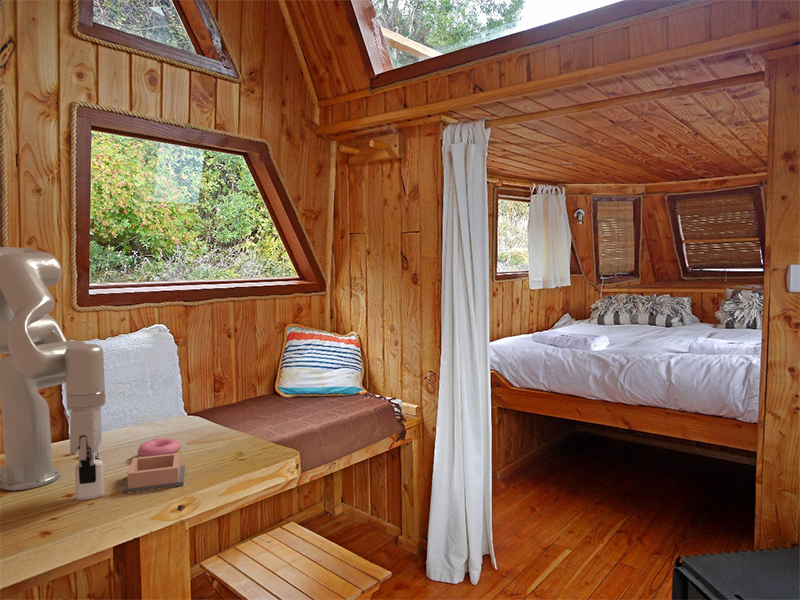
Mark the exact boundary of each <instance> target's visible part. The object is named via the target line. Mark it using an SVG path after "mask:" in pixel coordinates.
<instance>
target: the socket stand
mask: <svg viewBox="0 0 800 600" xmlns="http://www.w3.org/2000/svg"><path fill="white" fill-rule="evenodd" d="M180 454H181V453H180V452H179V453H174V454H165V455H156V456H148V457H139V456H138V457H133V458H132V459H131V463H130V466H129V468H128V472H127V476H126V479H125V482H124V485H123V487H122V494H123V493H125V494H129V493H128V492H133V493H138V492H137V491H140V492H144V491H143V490H148V491H151V490H150V489H155V490H159V489H158V488H163V489H167V488H166V487H170V488H175V487H174V486H178V487H184V486H183V485H185V474H186V473H185V471H186V465H181V455H180ZM184 473H185V474H184Z"/></svg>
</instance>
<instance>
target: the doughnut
mask: <svg viewBox="0 0 800 600" xmlns="http://www.w3.org/2000/svg"><path fill="white" fill-rule="evenodd" d="M181 448H182V445H181V443H180V442H179V441H178V440H177V439H174V438H167V437H164V438H162V437H161V438H156V439H152V440H148V441H145V442H144V443H142V444H140V445H139V447H138V450H137V455H138V458H139V457H148V456H156V455H165V454H174V453H180V452H181Z"/></svg>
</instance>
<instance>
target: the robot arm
mask: <svg viewBox="0 0 800 600" xmlns="http://www.w3.org/2000/svg"><path fill="white" fill-rule="evenodd" d="M62 275H63V269H62V265H61V264H60V262H59V260H58V259H57V258H56V257H55V256H54V255H53V254H51V253H50V252H47V251H46V252H45V251H41V250H35V249H31V248H27V247H14V246H13V247H12V246H11V247H10V246H9V247H7V246H4V247H3V246H0V355H5V356H4V357H2V358H0V407H1V410H0V411H1V420H2V434H3V435H2V436H3V449H4V450H3V451H4V463H5V464H2V465H1V466H0V489H1V490H5V491H23V490H29V489H34V488H38V487H42V486H44V485H47V484H50V483H52V482H54V481H56V480H57V479H58V478H59V477H60V476H61V469H59V468H58V467H56V466H53V454H52V451H53V450H52V435H51V420H50V419H51V418H50V417H51V416H50V407H49V405H48V402H47V400H45V399H44V397H43V396H41V394H40V393H39V391H38V390H41V389H46V388H50V387H55V386H61V385H64V384H65V392H66V393H65V394H66V409H67V410H69V411H70V423H69V433H70V435H69V443H70V444H69V448H70V449H69V452H70V455H71V456H75V455H76V454H77V452H78V463H79V482H80V484H86V483H94V482H95V481H96V465H95V464H94V452H95V459H97V460H100V457H99V448H98V447H99V446H100V444H101V441H102V437H103V436H102V434H103V433H102V429H103V428H102V413H101V412H102V410H101V408H102V407H104V406H105V405H106V388H105V384H106V383H105V365H104V349H103V348H102V346H101V345H99V344H95V343H85V342H83V341H81V340H74V339H73V340H67V339H66V336H65V335H64V333H63V330H62V328H61V327H60V325H59V323H58V321H57V320H56V319H55V318H54V317H53V316H52V315H50V313H51V312H52V311H53V309H54V308H55V305H56V304H55V302H56V301H55V299H54V297H53V296H52V294H51V293H50V290H49V289H48V288H47V287H51V286H54V285H57V284H58V283H59V282H60V280H61V279H62V277H63V276H62ZM7 354H9V355H7ZM87 449H91V450H90V451H87ZM87 455H90V457H89V456H88V457H87Z"/></svg>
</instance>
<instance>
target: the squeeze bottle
mask: <svg viewBox="0 0 800 600" xmlns="http://www.w3.org/2000/svg"><path fill="white" fill-rule="evenodd" d="M90 450H91V449H87V451H90ZM88 456H89V457H90V455H87V457H88ZM95 458H96V457H95V452H94V464H95V465H96V481H95V482H94V483H86V484H80V482H79V462H78V463H77V464H76V465H75V467H74V477H75V499H76V500H77V501H87V500H92V499H97V498H100V497H102V496H104V495H105V479H104V478H105V477H104V476H105V475H104V473H105V471H104V462H103V461H102V460H100V459H99V460H97V459H95Z"/></svg>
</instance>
